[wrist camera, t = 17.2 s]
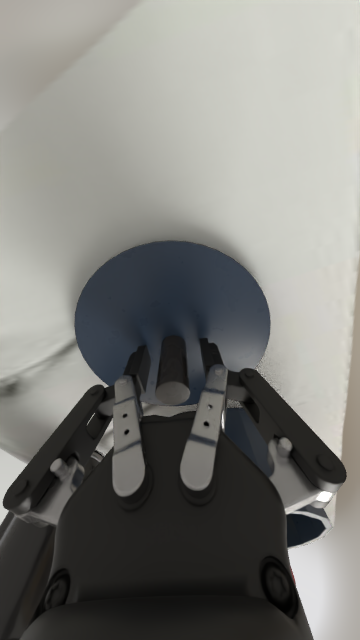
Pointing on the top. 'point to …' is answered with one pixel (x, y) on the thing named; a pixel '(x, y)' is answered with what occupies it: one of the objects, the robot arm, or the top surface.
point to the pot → (241, 430)
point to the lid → (171, 317)
